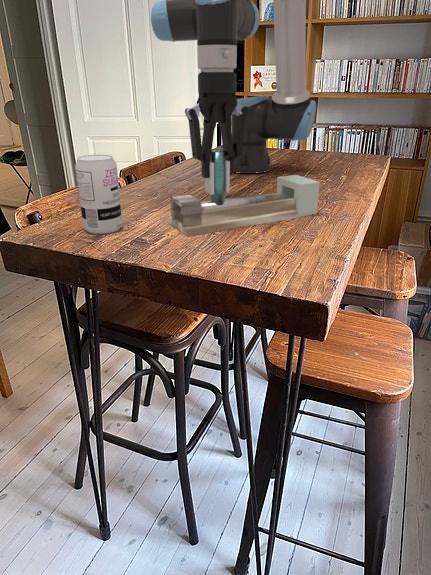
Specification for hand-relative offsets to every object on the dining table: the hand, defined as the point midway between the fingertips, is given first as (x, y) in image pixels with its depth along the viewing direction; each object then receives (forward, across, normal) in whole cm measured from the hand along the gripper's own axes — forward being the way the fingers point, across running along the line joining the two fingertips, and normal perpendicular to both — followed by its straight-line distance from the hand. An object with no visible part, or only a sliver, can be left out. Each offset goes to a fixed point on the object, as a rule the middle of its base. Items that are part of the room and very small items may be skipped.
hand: (217, 191), depth 97 cm
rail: (+7, +4, 0) cm, 8 cm away
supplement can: (+7, -24, +8) cm, 26 cm away
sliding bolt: (+5, +2, 0) cm, 5 cm away
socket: (+7, +22, 0) cm, 23 cm away
